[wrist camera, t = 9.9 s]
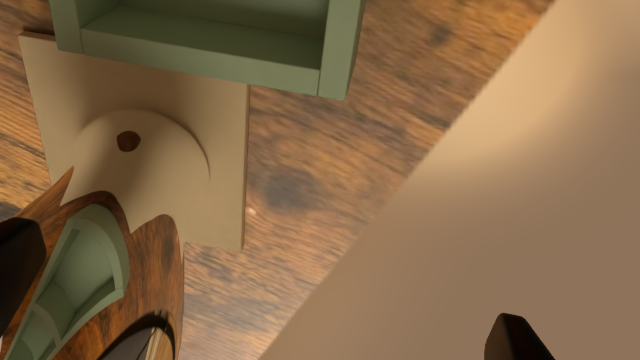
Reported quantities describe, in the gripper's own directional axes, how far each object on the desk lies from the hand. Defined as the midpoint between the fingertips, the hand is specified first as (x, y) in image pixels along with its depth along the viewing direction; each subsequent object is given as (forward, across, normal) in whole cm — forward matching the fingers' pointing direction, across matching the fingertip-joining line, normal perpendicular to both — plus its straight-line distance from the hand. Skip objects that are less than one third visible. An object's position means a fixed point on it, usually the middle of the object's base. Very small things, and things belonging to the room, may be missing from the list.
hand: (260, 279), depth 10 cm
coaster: (+13, +9, +6) cm, 17 cm away
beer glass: (+12, +8, +7) cm, 16 cm away
